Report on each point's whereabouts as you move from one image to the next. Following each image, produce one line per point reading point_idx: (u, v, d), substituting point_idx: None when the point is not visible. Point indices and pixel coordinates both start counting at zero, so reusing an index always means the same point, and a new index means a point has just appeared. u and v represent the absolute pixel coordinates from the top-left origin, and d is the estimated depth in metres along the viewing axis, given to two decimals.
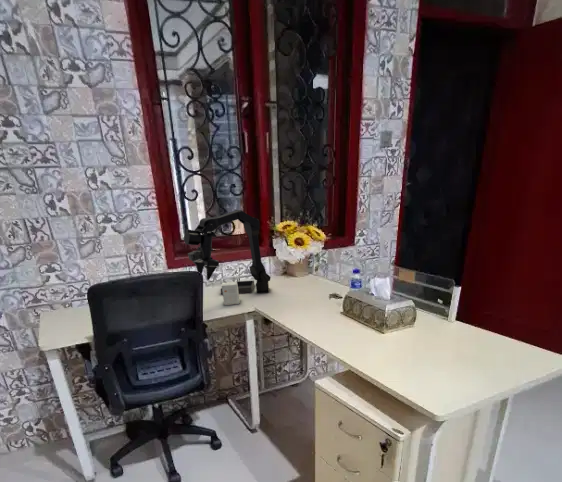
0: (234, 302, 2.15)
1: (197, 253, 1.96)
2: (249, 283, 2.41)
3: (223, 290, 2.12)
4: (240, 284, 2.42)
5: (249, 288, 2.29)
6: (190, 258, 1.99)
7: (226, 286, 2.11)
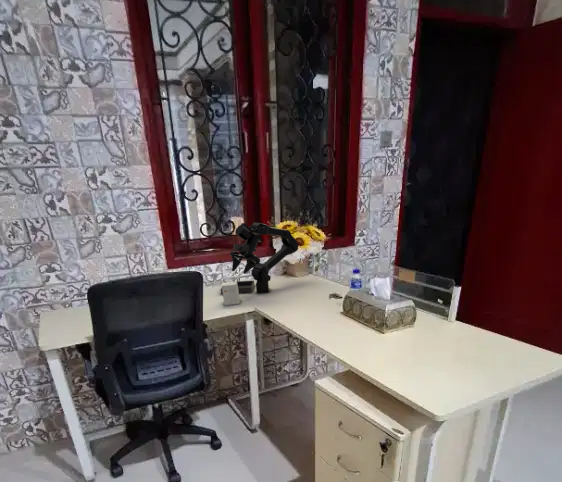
0: (234, 302, 2.15)
1: (245, 245, 2.08)
2: (249, 283, 2.41)
3: (223, 290, 2.12)
4: (240, 284, 2.42)
5: (249, 288, 2.29)
6: (235, 248, 2.09)
7: (226, 286, 2.11)
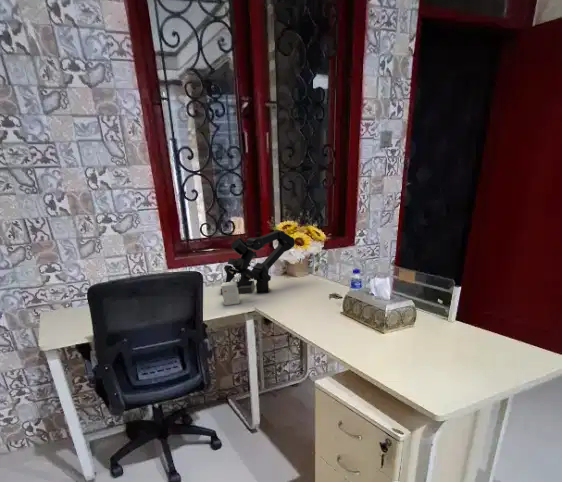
0: (234, 302, 2.15)
1: (240, 259, 2.08)
2: (249, 283, 2.41)
3: (223, 290, 2.11)
4: None
5: (249, 288, 2.29)
6: (230, 262, 2.09)
7: (226, 286, 2.11)
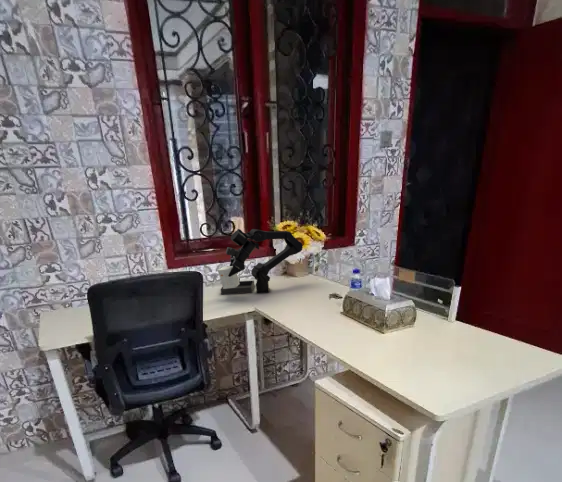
0: (231, 286, 2.22)
1: (233, 250, 2.12)
2: (249, 283, 2.41)
3: (220, 274, 2.20)
4: (240, 284, 2.42)
5: (249, 288, 2.29)
6: (226, 251, 2.16)
7: (222, 270, 2.19)
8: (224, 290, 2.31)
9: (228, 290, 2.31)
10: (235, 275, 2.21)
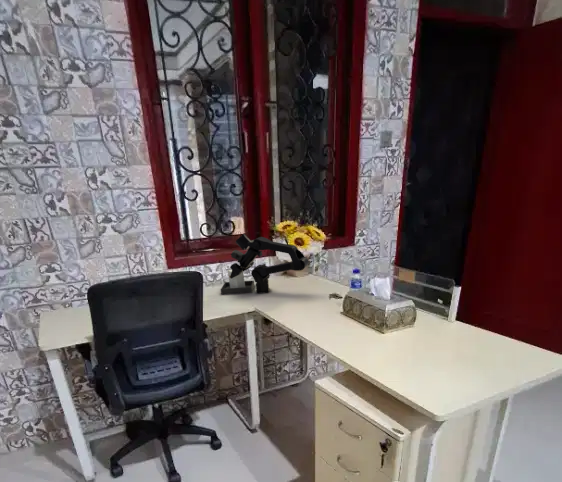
0: None
1: (234, 254, 2.22)
2: (249, 283, 2.41)
3: (228, 275, 2.34)
4: None
5: (249, 288, 2.29)
6: None
7: (230, 272, 2.32)
8: (224, 290, 2.31)
9: (228, 290, 2.31)
10: (240, 280, 2.32)
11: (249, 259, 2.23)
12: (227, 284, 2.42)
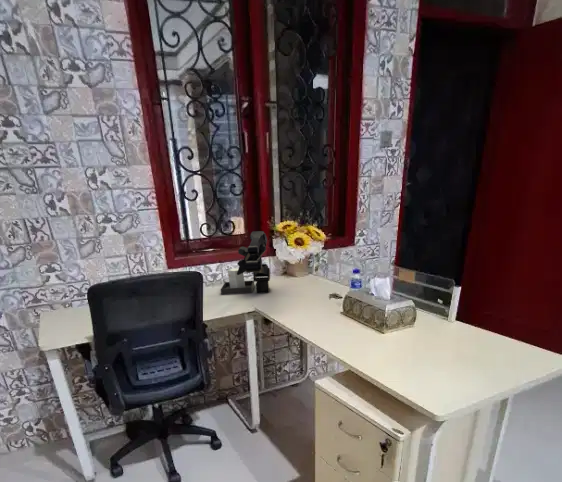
0: (234, 287, 2.34)
1: (241, 250, 2.22)
2: (249, 283, 2.41)
3: (228, 274, 2.35)
4: None
5: (249, 288, 2.29)
6: None
7: (229, 271, 2.33)
8: (224, 290, 2.31)
9: (228, 290, 2.31)
10: (240, 278, 2.32)
11: (256, 255, 2.23)
12: (227, 284, 2.42)
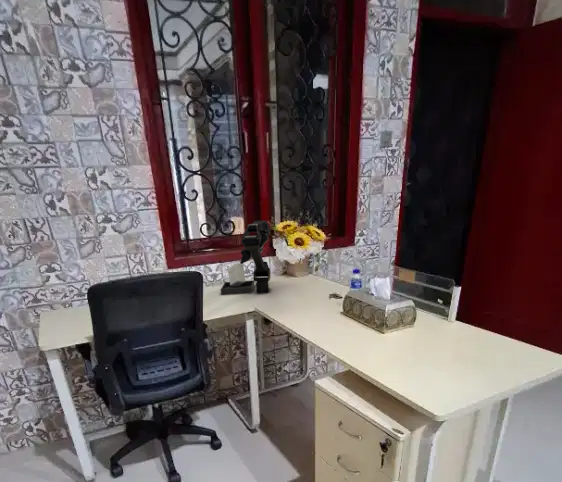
0: (235, 280, 2.33)
1: None
2: (249, 283, 2.41)
3: (228, 272, 2.38)
4: None
5: (249, 288, 2.29)
6: None
7: (230, 267, 2.37)
8: (224, 290, 2.31)
9: (228, 290, 2.31)
10: (240, 271, 2.34)
11: (259, 245, 2.28)
12: (227, 284, 2.42)
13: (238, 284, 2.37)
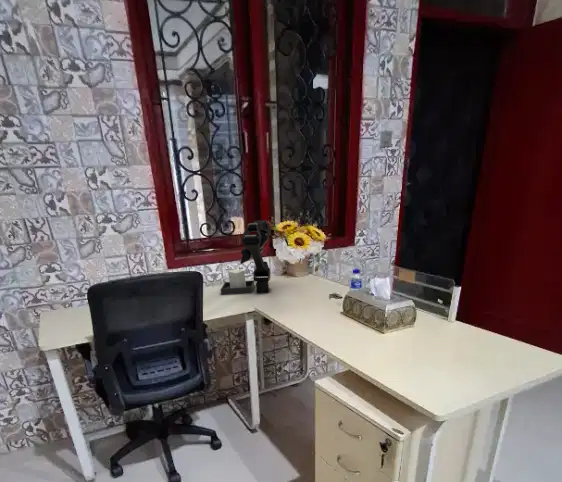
0: None
1: None
2: (249, 283, 2.41)
3: (229, 275, 2.33)
4: None
5: (249, 288, 2.29)
6: None
7: (230, 272, 2.31)
8: (224, 290, 2.31)
9: (228, 290, 2.31)
10: (242, 280, 2.31)
11: (259, 244, 2.28)
12: (227, 284, 2.42)
13: None
